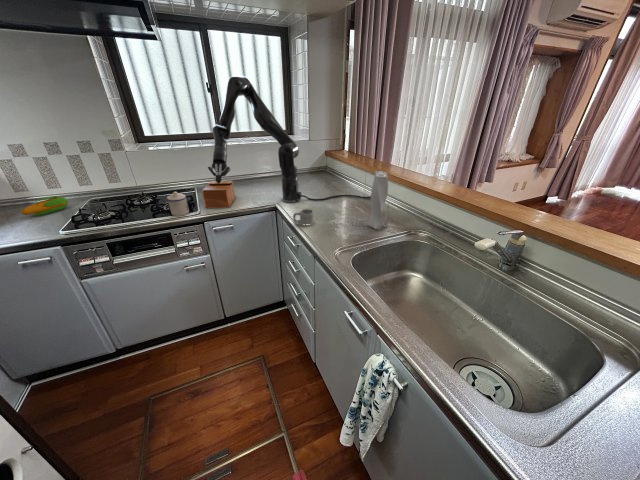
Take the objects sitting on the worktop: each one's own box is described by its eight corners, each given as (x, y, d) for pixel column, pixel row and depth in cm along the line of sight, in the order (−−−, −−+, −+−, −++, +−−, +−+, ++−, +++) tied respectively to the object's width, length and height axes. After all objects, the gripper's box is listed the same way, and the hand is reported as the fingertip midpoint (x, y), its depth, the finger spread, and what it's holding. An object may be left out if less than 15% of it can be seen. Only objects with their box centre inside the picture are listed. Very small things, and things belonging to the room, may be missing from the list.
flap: (210, 181, 160) (210, 181, 160) (232, 181, 161) (232, 180, 161) (206, 184, 152) (206, 183, 152) (229, 183, 153) (229, 183, 153)
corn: (67, 193, 145) (20, 206, 129) (74, 206, 149) (29, 220, 133) (60, 192, 148) (12, 204, 132) (67, 205, 151) (21, 219, 135)
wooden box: (213, 197, 165) (210, 181, 160) (235, 197, 166) (232, 180, 161) (205, 207, 150) (201, 190, 145) (229, 207, 151) (226, 190, 146)
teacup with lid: (192, 212, 144) (187, 192, 138) (175, 217, 138) (169, 196, 132) (183, 206, 151) (178, 187, 145) (166, 211, 145) (160, 190, 139)
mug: (313, 221, 136) (313, 208, 133) (313, 226, 130) (313, 214, 127) (294, 220, 136) (293, 208, 133) (293, 226, 130) (292, 214, 127)
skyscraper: (375, 231, 126) (383, 173, 113) (363, 225, 132) (369, 169, 119) (387, 227, 131) (396, 170, 117) (375, 221, 136) (382, 166, 123)
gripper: (206, 152, 154) (204, 179, 149) (229, 152, 155) (228, 178, 150) (210, 159, 161) (208, 185, 157) (233, 159, 162) (231, 185, 158)
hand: (218, 182), depth 154 cm, fingers closed
